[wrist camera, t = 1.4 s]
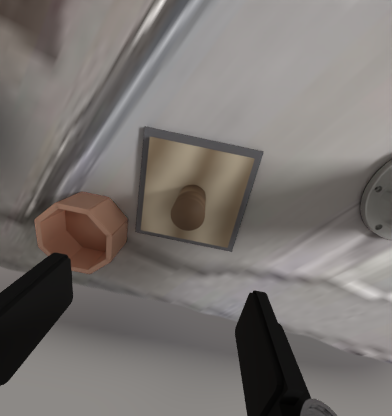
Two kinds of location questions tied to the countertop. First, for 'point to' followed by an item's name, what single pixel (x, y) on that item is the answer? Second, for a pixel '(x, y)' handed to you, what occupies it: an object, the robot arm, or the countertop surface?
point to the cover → (193, 191)
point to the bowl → (83, 230)
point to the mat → (205, 144)
